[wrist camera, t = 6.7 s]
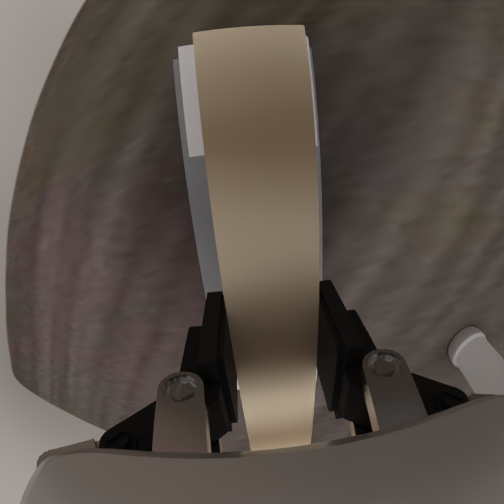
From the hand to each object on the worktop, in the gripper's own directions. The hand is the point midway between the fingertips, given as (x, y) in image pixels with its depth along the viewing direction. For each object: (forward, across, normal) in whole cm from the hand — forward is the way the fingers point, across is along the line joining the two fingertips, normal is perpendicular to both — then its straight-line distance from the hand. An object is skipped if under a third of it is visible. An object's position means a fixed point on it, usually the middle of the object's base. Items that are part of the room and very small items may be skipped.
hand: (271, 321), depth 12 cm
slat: (+3, 0, 0) cm, 3 cm away
